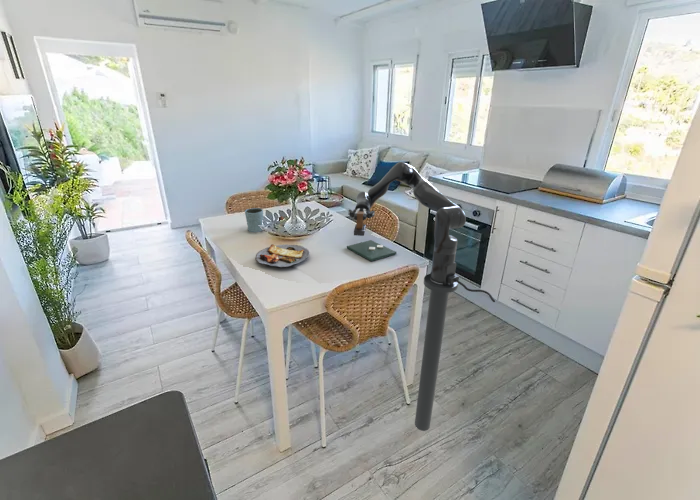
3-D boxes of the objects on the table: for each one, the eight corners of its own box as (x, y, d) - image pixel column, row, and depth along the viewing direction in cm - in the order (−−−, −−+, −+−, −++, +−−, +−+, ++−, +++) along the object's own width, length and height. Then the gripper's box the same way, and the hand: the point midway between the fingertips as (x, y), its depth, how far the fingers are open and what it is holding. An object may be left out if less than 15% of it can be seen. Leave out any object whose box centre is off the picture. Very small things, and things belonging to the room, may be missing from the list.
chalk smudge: (383, 246, 179) (383, 245, 179) (382, 248, 177) (382, 247, 176) (377, 245, 180) (377, 244, 179) (376, 247, 177) (376, 246, 177)
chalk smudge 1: (375, 248, 177) (375, 247, 176) (374, 250, 174) (374, 249, 174) (369, 247, 177) (369, 246, 177) (368, 250, 174) (368, 248, 174)
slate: (396, 254, 173) (396, 251, 172) (371, 261, 164) (371, 259, 164) (370, 242, 188) (371, 240, 187) (346, 248, 179) (346, 246, 179)
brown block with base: (365, 229, 176) (366, 209, 172) (364, 235, 167) (364, 215, 163) (355, 228, 176) (356, 209, 173) (353, 235, 167) (354, 215, 163)
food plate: (245, 263, 160) (245, 256, 158) (273, 245, 179) (273, 239, 178) (293, 273, 151) (293, 266, 150) (317, 253, 171) (317, 247, 170)
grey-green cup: (256, 234, 196) (254, 214, 191) (242, 231, 201) (240, 211, 196) (268, 229, 204) (266, 209, 199) (255, 226, 209) (253, 206, 204)
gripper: (349, 200, 181) (345, 210, 165) (376, 202, 180) (374, 211, 164) (349, 214, 184) (345, 225, 168) (375, 216, 182) (374, 226, 167)
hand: (359, 218), depth 166 cm, fingers closed on brown block with base, 3 cm apart
